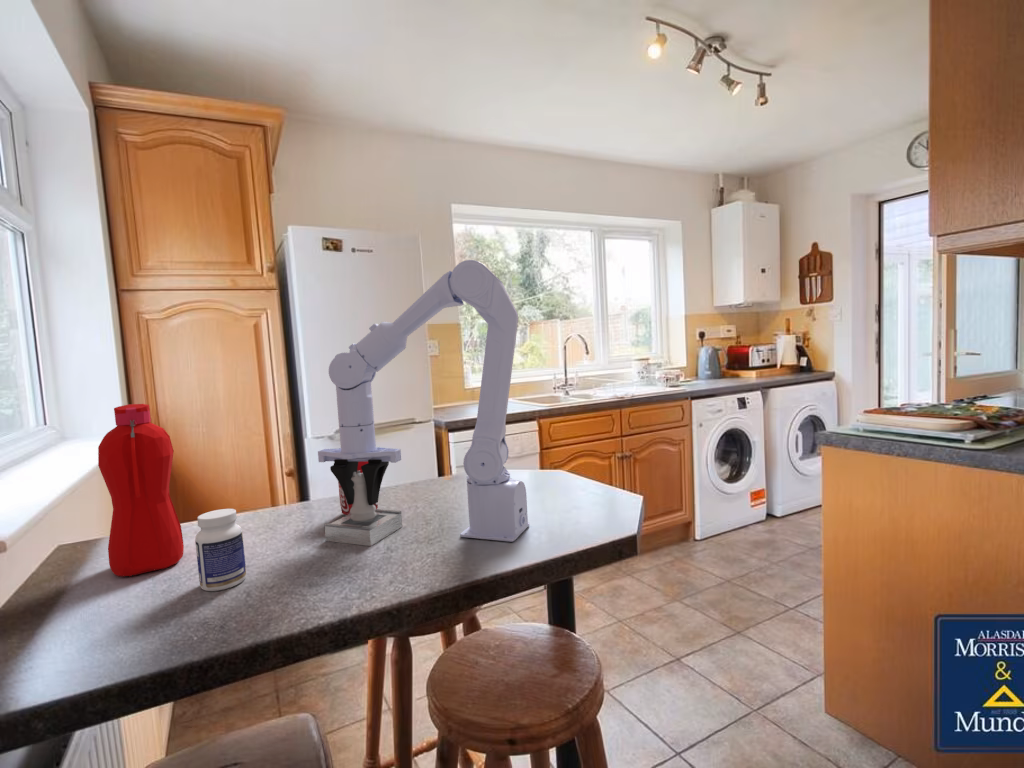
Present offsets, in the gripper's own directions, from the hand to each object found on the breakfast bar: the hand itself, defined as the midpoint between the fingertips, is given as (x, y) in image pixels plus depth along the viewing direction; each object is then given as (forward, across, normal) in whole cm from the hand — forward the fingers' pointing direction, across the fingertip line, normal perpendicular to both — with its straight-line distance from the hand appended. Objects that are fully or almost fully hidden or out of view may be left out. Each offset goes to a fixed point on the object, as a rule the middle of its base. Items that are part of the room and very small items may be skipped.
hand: (362, 503), depth 89 cm
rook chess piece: (+3, 0, 0) cm, 3 cm away
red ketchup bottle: (+6, -27, -16) cm, 32 cm away
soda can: (+6, -7, +10) cm, 13 cm away
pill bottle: (+6, -11, -20) cm, 23 cm away
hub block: (+5, 0, 0) cm, 5 cm away
